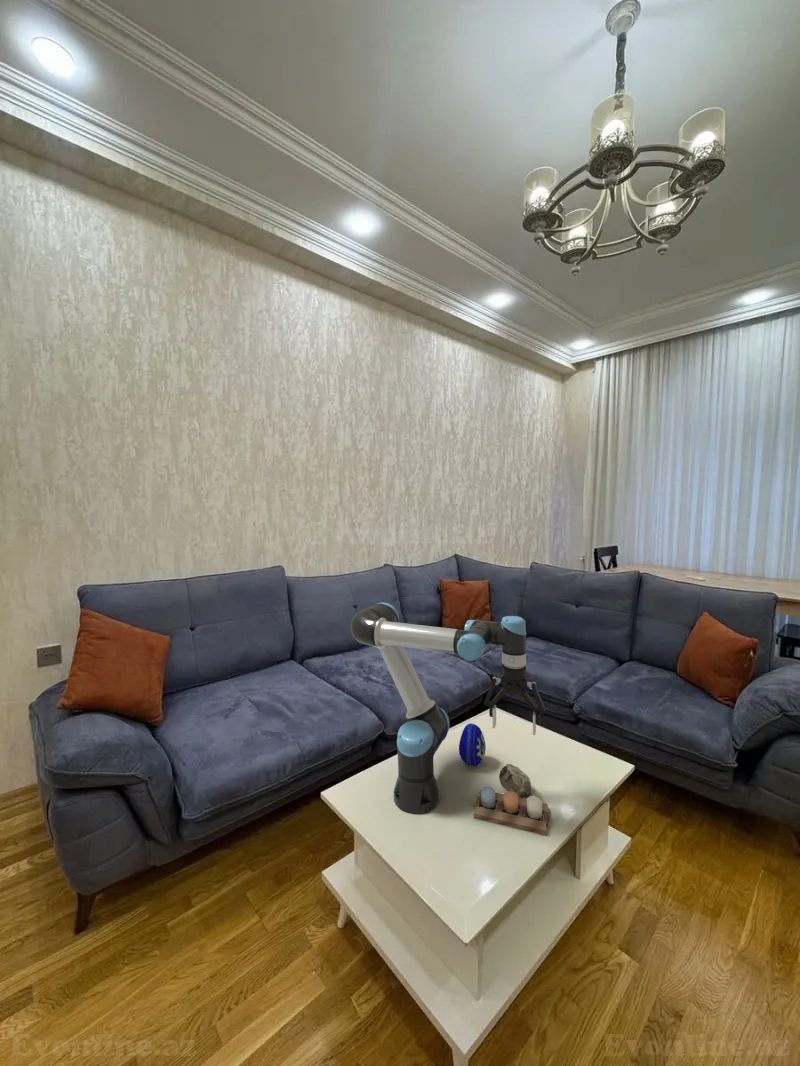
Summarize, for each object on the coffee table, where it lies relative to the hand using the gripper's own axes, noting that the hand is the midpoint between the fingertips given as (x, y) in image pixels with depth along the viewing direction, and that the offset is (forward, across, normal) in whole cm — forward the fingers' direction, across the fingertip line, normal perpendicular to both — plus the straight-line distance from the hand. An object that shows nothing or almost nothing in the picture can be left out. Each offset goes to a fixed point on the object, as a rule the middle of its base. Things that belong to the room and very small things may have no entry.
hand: (514, 729), depth 140 cm
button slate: (+21, -7, -9) cm, 23 cm away
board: (+22, 0, -9) cm, 24 cm away
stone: (+22, 0, +2) cm, 23 cm away
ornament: (+23, -17, +13) cm, 31 cm away
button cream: (+20, +7, -9) cm, 23 cm away
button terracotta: (+21, 0, -9) cm, 22 cm away
